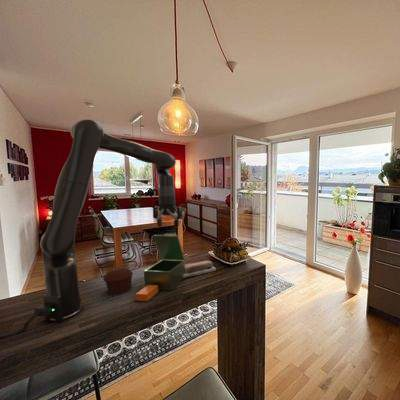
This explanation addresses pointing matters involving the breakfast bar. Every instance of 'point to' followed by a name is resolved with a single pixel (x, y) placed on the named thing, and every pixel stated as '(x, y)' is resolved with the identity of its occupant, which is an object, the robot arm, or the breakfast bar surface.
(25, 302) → the breakfast bar surface
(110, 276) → the muffin
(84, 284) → the breakfast bar surface
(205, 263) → the packaged product
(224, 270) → the breakfast bar surface
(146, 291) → the block
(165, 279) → the green box
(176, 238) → the lid
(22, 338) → the breakfast bar surface
